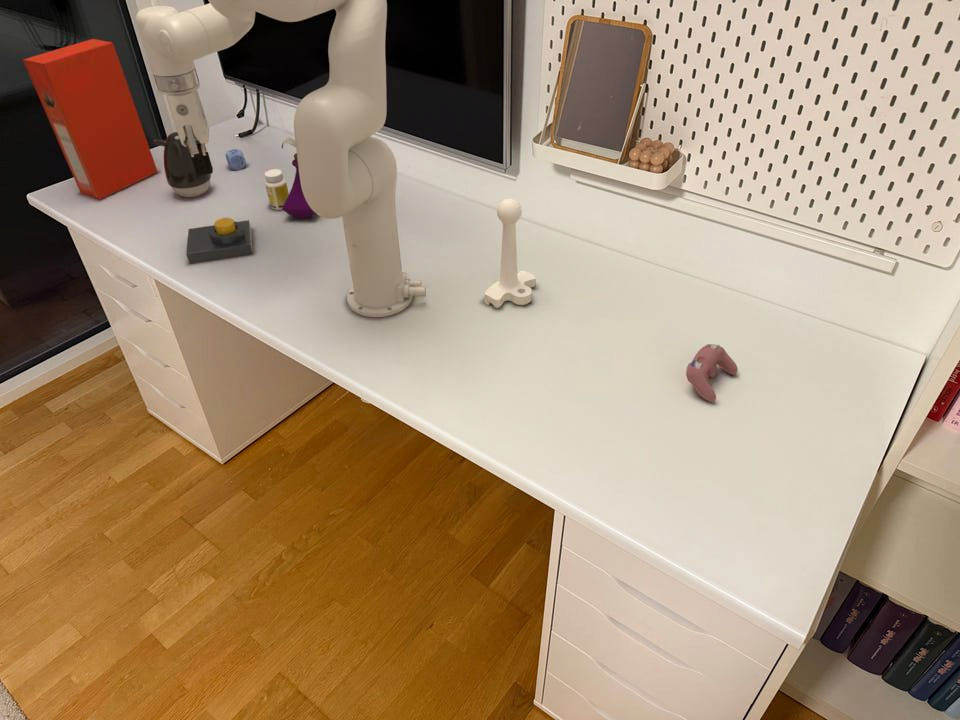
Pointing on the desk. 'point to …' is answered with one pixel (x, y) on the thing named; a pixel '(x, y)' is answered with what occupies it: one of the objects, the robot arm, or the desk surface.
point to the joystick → (510, 262)
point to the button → (225, 226)
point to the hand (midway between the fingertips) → (205, 172)
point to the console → (218, 243)
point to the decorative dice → (235, 159)
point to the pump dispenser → (182, 168)
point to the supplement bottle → (276, 188)
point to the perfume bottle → (296, 193)
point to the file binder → (92, 116)
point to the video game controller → (708, 369)
